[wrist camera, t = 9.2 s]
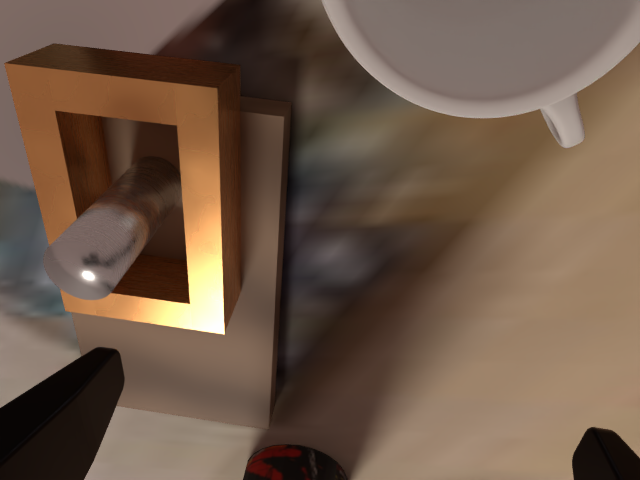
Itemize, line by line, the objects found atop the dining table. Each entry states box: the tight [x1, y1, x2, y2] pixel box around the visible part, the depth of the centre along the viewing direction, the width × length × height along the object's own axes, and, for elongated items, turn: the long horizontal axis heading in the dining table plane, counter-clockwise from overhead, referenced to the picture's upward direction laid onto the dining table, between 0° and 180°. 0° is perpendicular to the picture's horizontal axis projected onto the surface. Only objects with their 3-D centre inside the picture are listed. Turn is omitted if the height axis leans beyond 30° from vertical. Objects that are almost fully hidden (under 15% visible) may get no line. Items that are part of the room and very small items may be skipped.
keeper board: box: [71, 96, 292, 430], centre depth 22 cm, size 16×9×2 cm, turn 175°
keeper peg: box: [43, 156, 182, 300], centre depth 16 cm, size 2×2×6 cm
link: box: [4, 44, 241, 334], centre depth 18 cm, size 9×6×2 cm, turn 175°
